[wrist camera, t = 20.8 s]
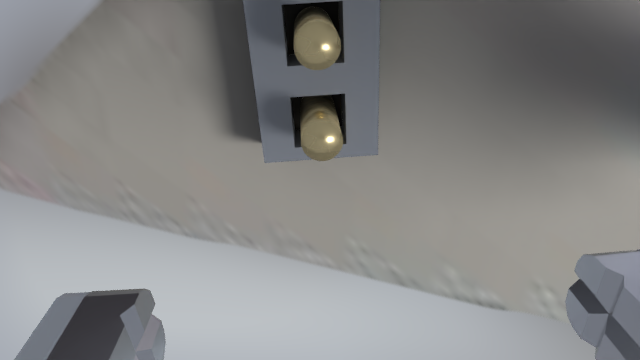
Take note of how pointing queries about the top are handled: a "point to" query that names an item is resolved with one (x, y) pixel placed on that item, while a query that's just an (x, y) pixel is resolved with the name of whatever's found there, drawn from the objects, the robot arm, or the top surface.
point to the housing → (315, 77)
